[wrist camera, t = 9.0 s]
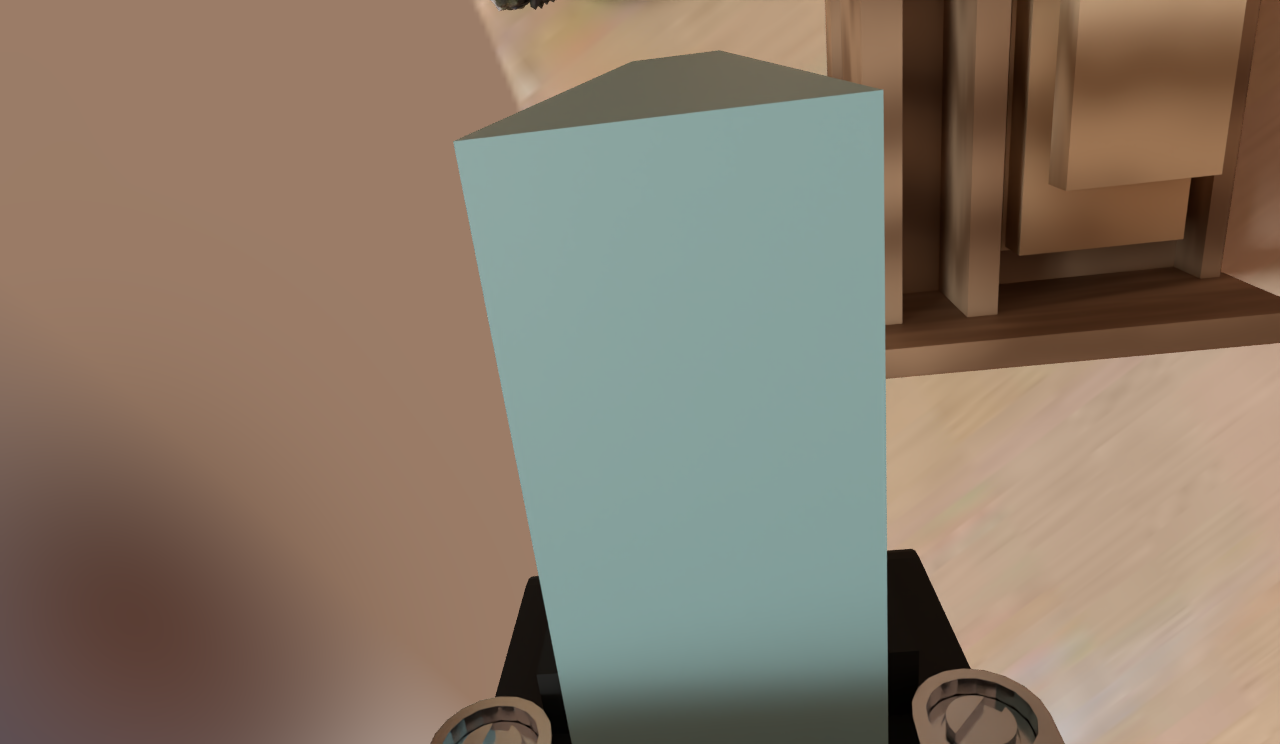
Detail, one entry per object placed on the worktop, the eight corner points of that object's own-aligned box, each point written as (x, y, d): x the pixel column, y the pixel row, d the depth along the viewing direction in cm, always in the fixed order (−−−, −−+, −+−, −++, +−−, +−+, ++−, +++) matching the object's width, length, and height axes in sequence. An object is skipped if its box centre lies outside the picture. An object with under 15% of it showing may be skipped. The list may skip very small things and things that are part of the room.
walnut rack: (820, -144, 40) (863, -199, 31) (1247, -206, 39) (1426, -284, 29) (835, 316, 49) (871, 379, 40) (1182, 282, 48) (1305, 340, 38)
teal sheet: (632, 61, 23) (453, 141, 5) (719, 50, 23) (883, 89, 5) (680, 487, 28) (684, 1315, 10) (752, 481, 28) (893, 1317, 10)
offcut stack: (1000, -80, 40) (1053, -100, 34) (1194, -107, 39) (1280, -132, 33) (987, 242, 46) (1031, 269, 40) (1156, 224, 45) (1223, 250, 39)
